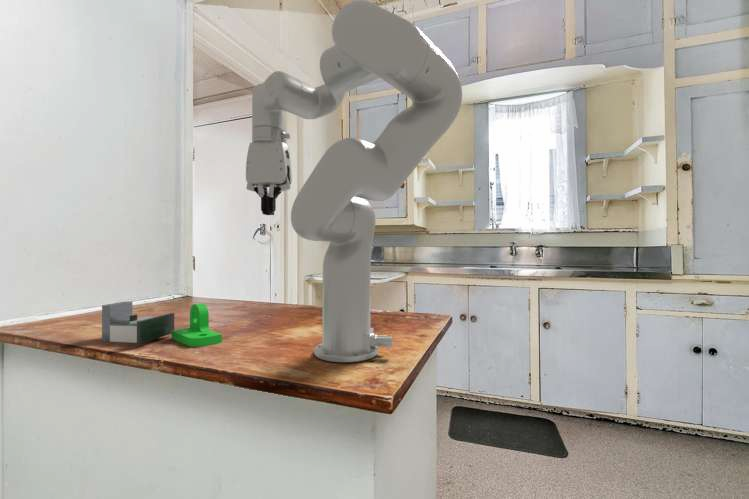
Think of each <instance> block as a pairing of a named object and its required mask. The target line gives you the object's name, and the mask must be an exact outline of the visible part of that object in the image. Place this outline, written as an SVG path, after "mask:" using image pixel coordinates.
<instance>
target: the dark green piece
mask: <svg viewBox="0 0 749 499" xmlns="http://www.w3.org/2000/svg"><path fill="white" fill-rule="evenodd" d="M130 325H137V343H136V344H137V345H142V344H145V343H148V342H151V341H154V340H157V339H160V338H163V337H166V336H169V335H172V331H174V330H175V312H170V313H165V314H161V315H157V316H149V315H145V316H140V317H138V314H132V315H131V316H130Z"/></svg>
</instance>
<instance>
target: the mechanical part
mask: <svg viewBox="0 0 749 499" xmlns="http://www.w3.org/2000/svg"><path fill="white" fill-rule="evenodd" d="M207 306H208V305H206V303H205V302H201V303H193V304H192V305H191V306H190V308H189V309H190V310H189V327H187V328H181V329H176V330H175V329H174V331H172V334H171V339H172V340H173V341H176V342H177V343H178V342H179V343H180V342H181V344H183V345H185V344H186V346H187V345H188V347H195V348H197V347H198V348H199V347H206V346H211V345H216V344H221V343H223V334H222V333H219V332H216V331H213V330H211V329H210V325H209V323H210V321H209V318H210V317H209V313H210V312H209V308H208V307H207Z"/></svg>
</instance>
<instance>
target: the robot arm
mask: <svg viewBox="0 0 749 499" xmlns="http://www.w3.org/2000/svg"><path fill="white" fill-rule="evenodd" d="M331 37H332V41H333V44H334V45H332V46H331V47H329V48H326V49H325V50H324V51H323V52H322V53H321V56H320V59H319V70H320V74H321V78H322V80H323V82H324V83H323V84H321V85H320V86H316V87H314V86H311V85H310V84H308V83H306V82H304V81H302V80H300V79H299V78H296V77H294V76H292V75H290V74H289V73H286V72H284V71H281V70H276V71H274V72H272V73H271V74H270V75H269V76H267V78H266V79H265V80H264V81H263V82H262V83H258V84H256V85H255V86H254V87H253V88H252V92H251V95H252V96H251V109H252V110H251V118H252V119H251V123H252V124H251V126H252V127H251V142H250V143H249V146H248V149H247V150H248V151H247V153H246V154H247V155H246V164H245V180H246V188H245V189H246V190H247V191H251V192H255V193H256V194H257V195H258V197H259V198H260V211H261V212H262V215H265V216H275V212H276V202H277V201H276V200H277V199H278V197H279V195H280V194H281V193H282V192H285V191H290V190H291V184H292V182H293V181H292V180H293V177H292V176H293V175H292V163H291V155H290V149H289V145H288V144H287V143H286V140H290V139H291V135H290V133H289V132H287V133H286V132H285V126H286V125H285V118H286V117H285V112H287V113H290V114H292V115H295V116H297V117H299V118H302V119H305V120H316V119H319V118H322V117H324V116H328V115H330V114H332V113H333V112H335V111H336V110H338V108H339V107H340V105H341V104H342V103H343V101H344V99H345V96H346V93H347V92H350V91H352V90H354V89H357V88H359V87H361V86H364V85H366V84H369V83H371V82H373V81H376V80H378V79H381V80H382V81H384V82H386V83H387V84H389V86H391V87H392V88H394V89H396V90H397V91H399V92H400V93H401V94H403V95H404V96H406V97H407V98H409V99H410V100H411V102H412V103H411V105H410V106H409V107H407V108H405V109H404V110H402V111H400V112H399V113H398V114H396V115H395V116H394V117H393V118H392V119H391V120H390V121H389V122H388V123H387V125H386V126H385V128H384V130H383V131H382V132H381V133H380V135H378V137H377V138H376V140H374V141H373V142H368V141H366V140H363V139H361V138H355V137H344V138H342V139H340V140H338V141H336V142H334V143H333V144H332V145H331V146H329V148H328V149H326V151H325V152H324V154H323V155H322V157H321V158H320V160H318V163H317V164H316V165H315V167H314V168H313V170H312V171H311V173H310V175H309V176H308V178H307V179H306V181H305V183H304V184H303V185H302V187H301V189H300V190H299V191H298V193H297V195H296V197H295V199H294V201H293V203H292V206H291V211H290V222H291V227H292V229H293V230H294V232H295V234H297V236H299V237H301V238H302V239H303V240H308V241H311V242H312V241H314V242H329V243H328V244H329V245H328V246H327V249H326V251H325V254H324V256H323V257H324V258H323V261H322V262H323V263H322V318H321V319H322V320H321V321H322V328H321V329H322V334H321V335H322V336H321V337H322V342H321V343H318V344H317V345H316V346H315V347H314V353H313V354H314V356H315V357H316V358H317V359H320V360H322V361H327V362H332V363H356V362H357V363H358V362H362V361H367V360H370V359H372V358H375V357H376V356H377V355H378V354H379V353H378V352H379V347H383V348H393V342H394V340H393V336H388V334H377V333H375V332H374V331H375V330H374V327H371V275H372V274H371V273H372V272H371V270H372V269H371V268H372V266H371V265H372V247H373V242H374V236H375V230H376V222H377V221H376V214H375V210H374V208H373V207H372V205H371V203H369V201H373V202H384V201H387V200H389V199H390V198H392V197H393V196H394V195H395V194H396V193H397V191H399V189H400V188H401V186H403V184H404V183H405V181H407V180H408V178H409V177H410V176H411V174H412V173H413V172H414V170H415V169H416V168H417V167H418V166H419V164H420V163H421V162H422V161H423V159H424V158H425V156H426V155H427V154H428V152H429V151H430V150H431V149H432V148H433V147H434V145H436V143H437V142H438V141H439V140H440V139H441V137H442V136H443V135H444V134H446V133H447V131H448V130H449V129H450V127H451V126H452V124H454V122H455V120H456V118H457V117H458V114H459V112H460V108H461V106H462V101H463V86H462V82H461V80H460V77H459V75H458V72H457V71H456V69H455V67H454V65H453V63H451V61H450V60H449V59H448V58H447V57H446V56H445V54H444V53H443V52H442V51H441V50H440V49H439V48H438V47H437V46H436V45H434V43H433V42H432V41H431V40H430V39H429V37H428V36H426V34H424V33H423V31H422V30H420V28H418V27H417V26H416V25H415V24H414V23H412V22H410V21H409V20H407V19H405V18H404V17H401V16H400V15H397V14H395V13H393V12H391V11H388V10H387V9H385V8H383V7H381V6H379V5H377V4H374V3H373V2H371V1H368V0H352V1H351V2H348V3H347V4H345V5H344V6H343V7H341V9H340V10H339V11H338V12H337V14H336V15H335V18H334V20H333V23H332V27H331Z"/></svg>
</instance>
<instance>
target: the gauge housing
mask: <svg viewBox="0 0 749 499" xmlns="http://www.w3.org/2000/svg"><path fill="white" fill-rule="evenodd" d="M131 315H133V301H121V302H115V303H109V304H103V305H102V306H101V342H110V343H112V342H113V343H130V344H131V343H135V344H137V325H130V316H131Z"/></svg>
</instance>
